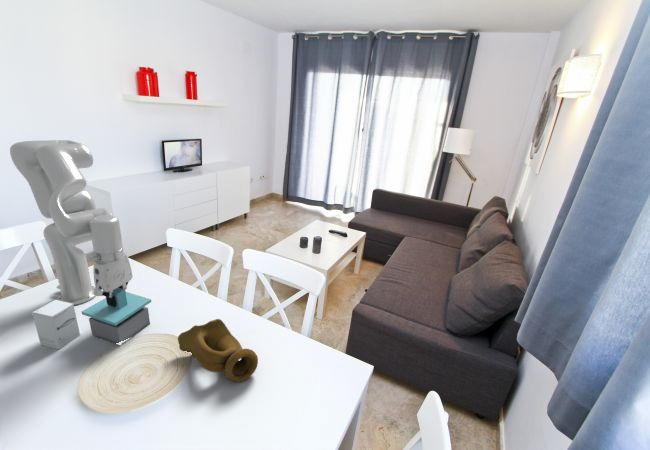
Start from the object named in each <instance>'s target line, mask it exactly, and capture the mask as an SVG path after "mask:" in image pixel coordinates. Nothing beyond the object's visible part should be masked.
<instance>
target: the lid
mask: <svg viewBox="0 0 650 450" xmlns="http://www.w3.org/2000/svg"><path fill="white" fill-rule="evenodd" d="M113 296H115V299H116V307H112V306H109V305H108V304H107V301H106V297H104V299H101V300H99V301H98V302H95V304H92V305H91V306H89V307H87V308H85V309H83V310H82V311H81V315H83V316H85V317H88V318H94V319H97V320H100V321H103V322H106V323H109V324H112V325H115V326H116V325H118V324H119V323H121V322H122V321H124V320H125V319H127V318H128V317H130V316H131V315H133V314H134V313H136V312H137V311H138V310H140V309H141V308H143V307H147V306H148V305H149V304H150V303H152V299H151V298H148V297H145V296H142V295H139V294H134V293H131V292H127V291H126V290H125V289H121V288H116V289H114V290H113Z"/></svg>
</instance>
